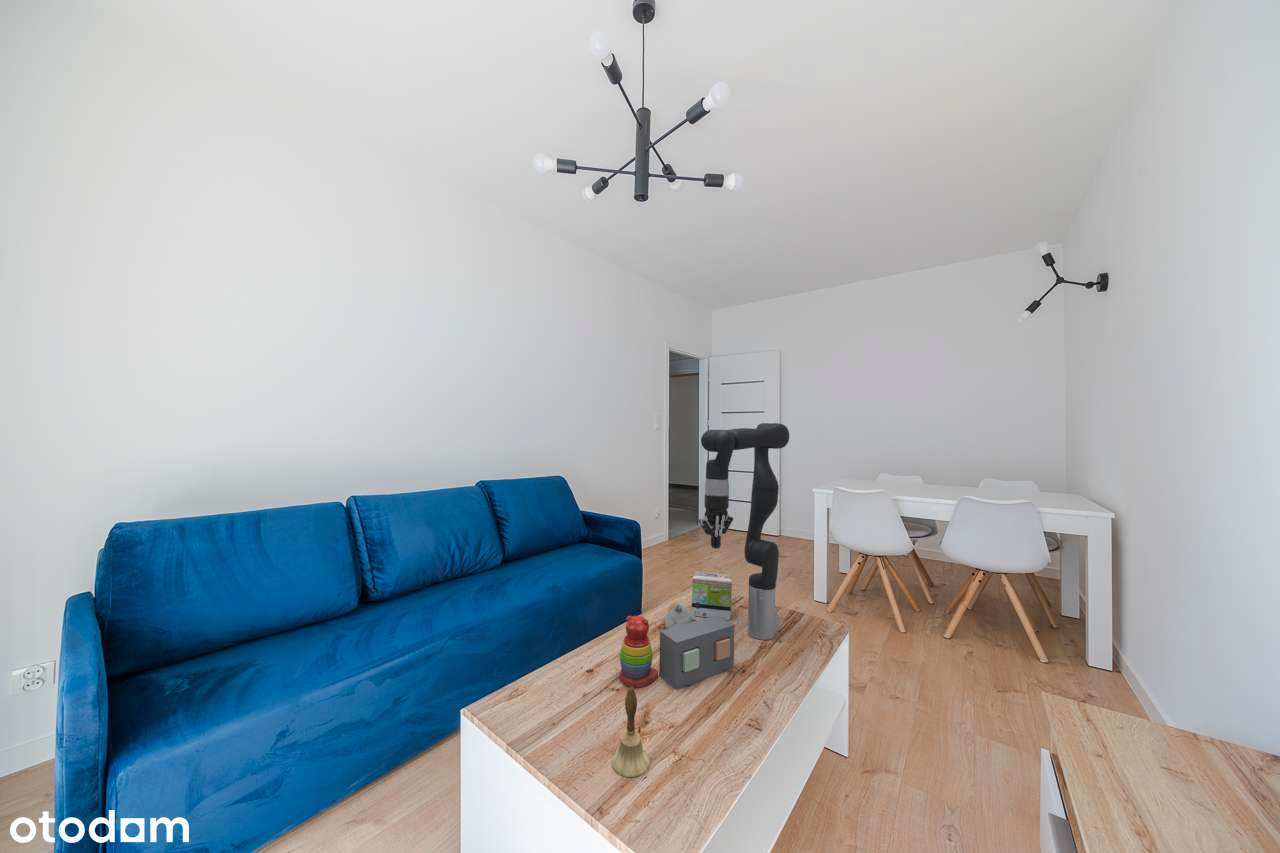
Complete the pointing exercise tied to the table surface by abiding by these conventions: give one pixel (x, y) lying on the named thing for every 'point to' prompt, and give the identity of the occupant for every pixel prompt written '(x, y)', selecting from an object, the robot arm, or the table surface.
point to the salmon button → (722, 648)
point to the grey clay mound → (678, 617)
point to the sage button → (690, 659)
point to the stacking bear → (636, 654)
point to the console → (690, 637)
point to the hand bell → (630, 744)
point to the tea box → (711, 594)
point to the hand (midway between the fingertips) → (715, 547)
